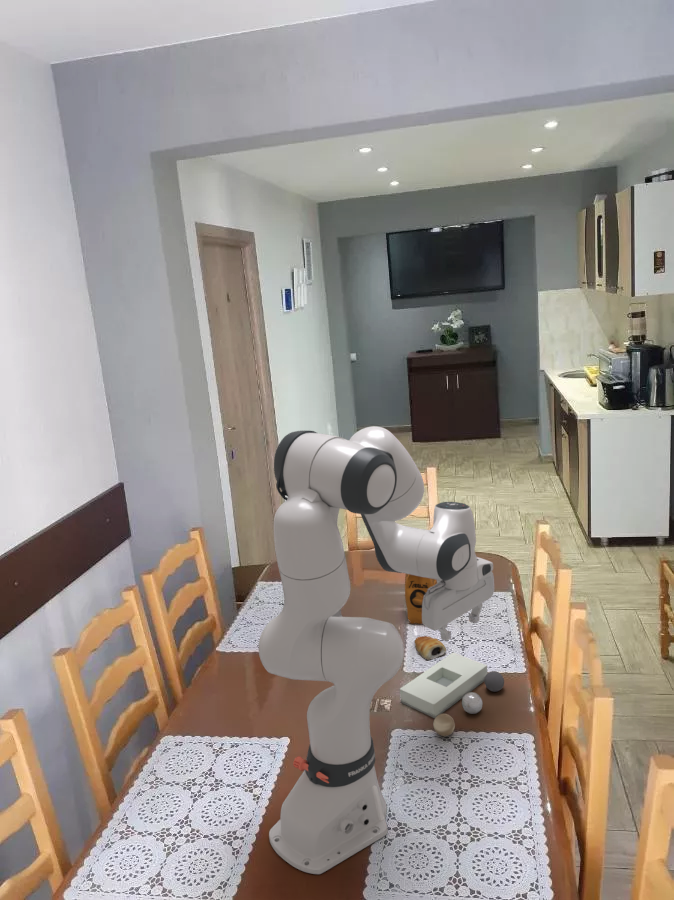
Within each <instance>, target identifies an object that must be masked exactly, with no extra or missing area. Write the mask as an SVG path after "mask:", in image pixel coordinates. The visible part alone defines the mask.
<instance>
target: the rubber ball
mask: <svg viewBox="0 0 674 900" xmlns="http://www.w3.org/2000/svg"><path fill="white" fill-rule="evenodd" d="M483 683H484V685H485V687H486V689H488V690H489V691H491V692H495V693H496V692H499V691H500V690H502V689H503V688H504V685H505V679H504V676H503V674H502V673H500V672H499V671H495V670H491V671H489V672H487V674H486V676H485V679H484V682H483Z"/></svg>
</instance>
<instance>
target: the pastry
mask: <svg viewBox="0 0 674 900" xmlns="http://www.w3.org/2000/svg"><path fill="white" fill-rule="evenodd" d="M414 645H415V646H414V647H415V648H416V651H417V653H419V655H420V656H421V657H422V658H423V659H424V658H425V660H426V659H427V661H429V660H430V659H431V660H434V659H437V658H438V657H441V656H444V655H445V654H446V653H447V648H446V646H445V644H444V643H443V642H442V641H440V640H439V639H438V638H436V637H435V638H434V637H431V636H426V635H424V636H418V637H416V638H415V640H414ZM431 660H430V661H431Z"/></svg>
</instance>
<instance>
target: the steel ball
mask: <svg viewBox="0 0 674 900" xmlns="http://www.w3.org/2000/svg"><path fill="white" fill-rule="evenodd" d="M461 705H462V706H461V707H463V710H464V711H465V712H467V713H468V714H470V715H472V714H473V715H475V714H477V713H479V712H480V711H481V710H482V708H483V699H482V697H481V696H480V695H479V694H478V693H476V692H472V691H471V692H469V693H467V694H465V695H464V697H463V698H461Z"/></svg>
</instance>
